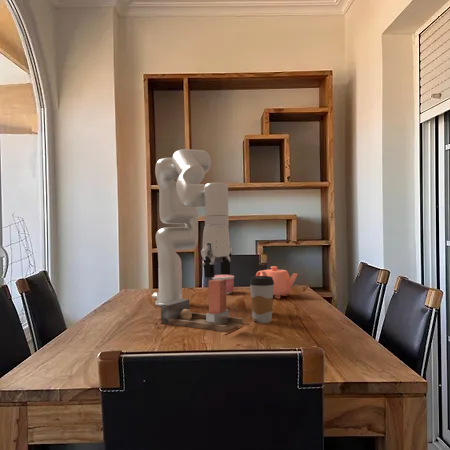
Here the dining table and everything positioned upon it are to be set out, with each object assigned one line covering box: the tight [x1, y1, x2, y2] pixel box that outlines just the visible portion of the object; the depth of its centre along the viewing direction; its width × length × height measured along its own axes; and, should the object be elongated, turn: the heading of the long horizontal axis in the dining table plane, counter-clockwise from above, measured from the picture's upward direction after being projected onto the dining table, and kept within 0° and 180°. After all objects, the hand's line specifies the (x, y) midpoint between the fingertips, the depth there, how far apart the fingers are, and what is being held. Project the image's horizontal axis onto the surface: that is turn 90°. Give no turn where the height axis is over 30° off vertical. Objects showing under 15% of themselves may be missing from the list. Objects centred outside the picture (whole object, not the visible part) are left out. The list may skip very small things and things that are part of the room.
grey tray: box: [160, 298, 244, 336], centre depth 146 cm, size 24×12×7 cm, turn 60°
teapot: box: [255, 265, 298, 300], centre depth 200 cm, size 16×17×14 cm
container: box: [211, 274, 235, 295], centre depth 212 cm, size 10×10×8 cm
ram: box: [205, 279, 230, 325], centre depth 143 cm, size 4×9×14 cm, turn 150°
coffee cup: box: [249, 275, 274, 324], centre depth 153 cm, size 8×8×15 cm
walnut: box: [180, 308, 192, 321], centre depth 149 cm, size 4×4×4 cm
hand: (217, 275), depth 143 cm, fingers open, 9 cm apart
